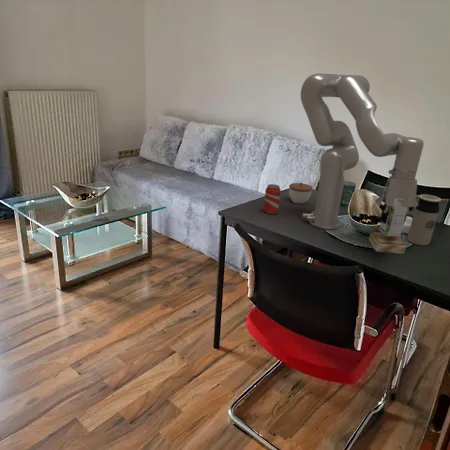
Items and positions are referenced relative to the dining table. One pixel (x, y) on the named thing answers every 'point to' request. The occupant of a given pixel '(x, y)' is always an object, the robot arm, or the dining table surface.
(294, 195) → the lidded jar
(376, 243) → the base
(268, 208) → the beverage can
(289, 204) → the dining table surface
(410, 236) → the travel mug
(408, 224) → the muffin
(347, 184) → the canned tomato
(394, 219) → the syrup box
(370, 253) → the dining table surface
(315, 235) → the dining table surface
